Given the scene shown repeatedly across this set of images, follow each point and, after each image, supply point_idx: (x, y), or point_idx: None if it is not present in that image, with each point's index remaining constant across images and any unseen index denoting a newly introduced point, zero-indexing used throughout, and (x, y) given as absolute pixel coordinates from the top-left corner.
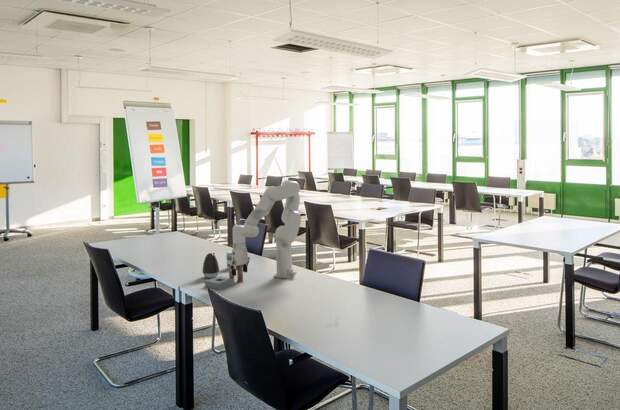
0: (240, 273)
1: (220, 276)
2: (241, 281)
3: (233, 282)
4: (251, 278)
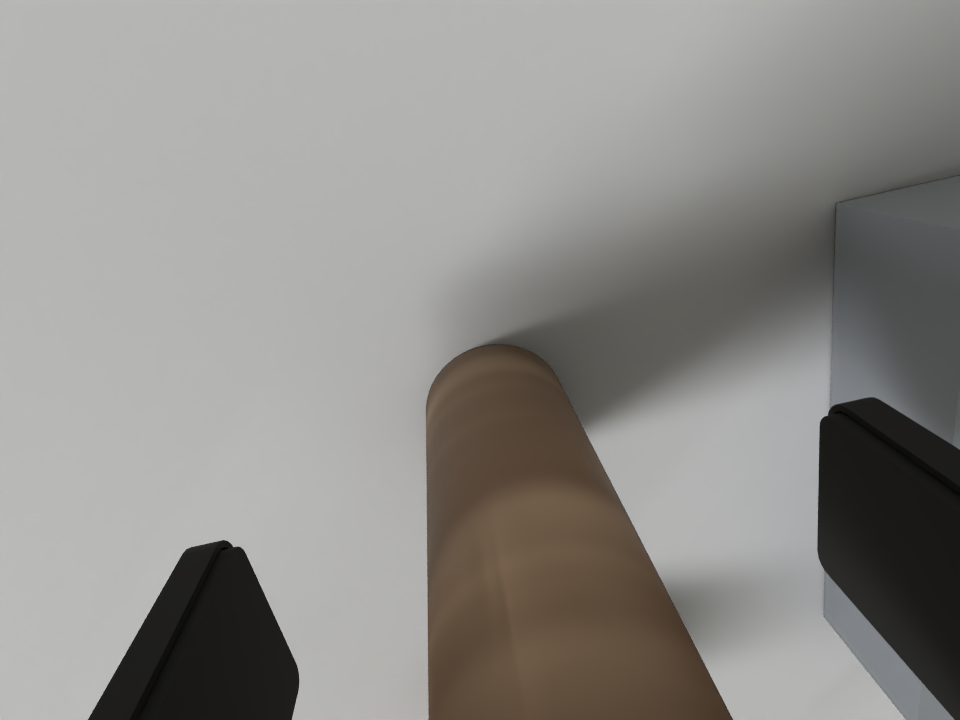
0: (584, 479)
1: (927, 709)
2: (506, 346)
3: (936, 205)
4: (111, 438)
